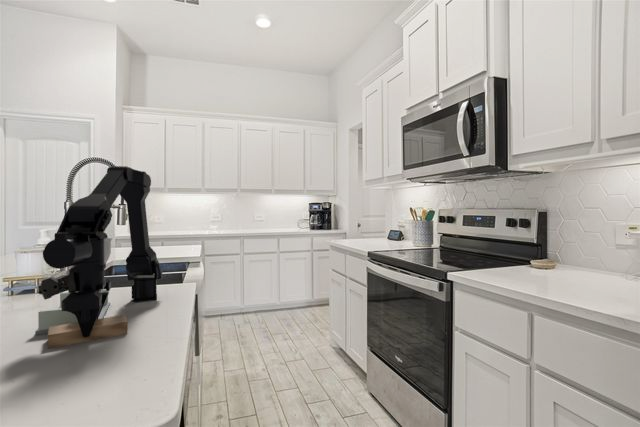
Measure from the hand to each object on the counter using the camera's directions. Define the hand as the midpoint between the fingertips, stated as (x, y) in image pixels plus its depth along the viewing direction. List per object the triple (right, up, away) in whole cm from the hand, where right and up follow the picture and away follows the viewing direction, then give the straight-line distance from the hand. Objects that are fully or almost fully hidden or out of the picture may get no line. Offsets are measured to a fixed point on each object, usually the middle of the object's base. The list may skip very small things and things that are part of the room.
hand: (89, 331), depth 74 cm
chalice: (-23, -1, +40) cm, 46 cm away
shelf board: (0, -1, 0) cm, 1 cm away
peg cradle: (-11, -1, +12) cm, 17 cm away
